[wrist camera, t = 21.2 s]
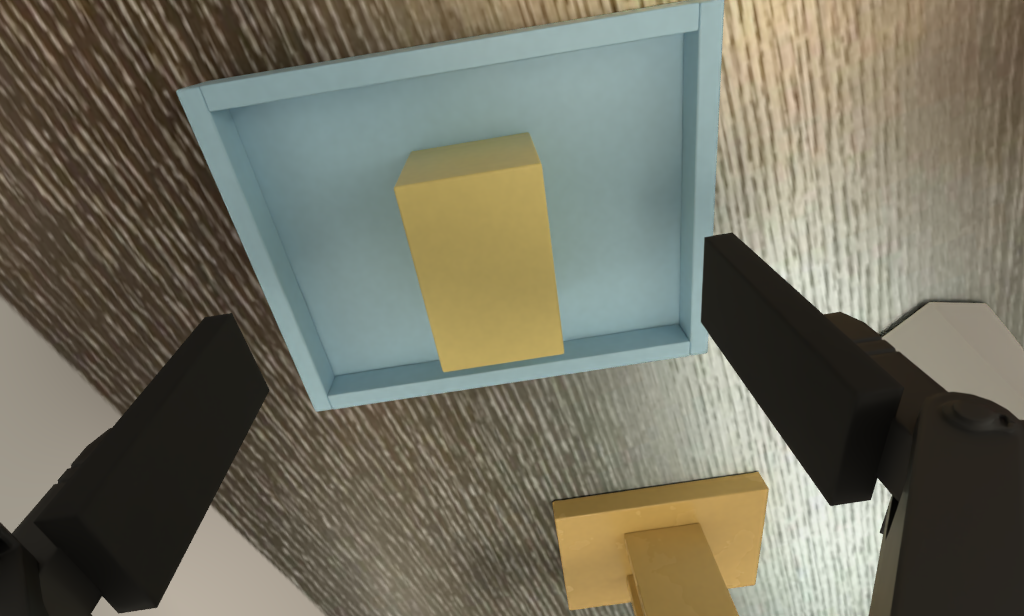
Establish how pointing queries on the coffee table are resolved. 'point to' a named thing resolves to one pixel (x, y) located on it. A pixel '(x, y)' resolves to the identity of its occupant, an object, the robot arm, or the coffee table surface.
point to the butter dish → (465, 118)
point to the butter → (482, 250)
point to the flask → (965, 351)
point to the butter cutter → (663, 546)
